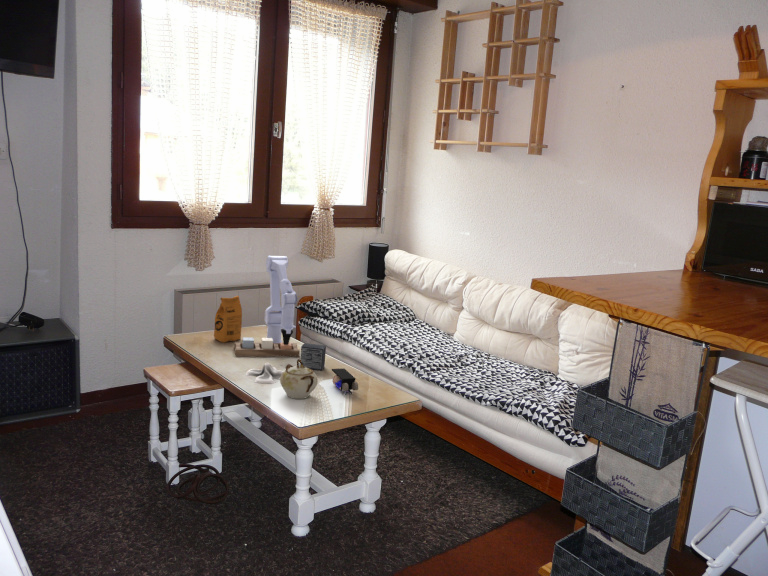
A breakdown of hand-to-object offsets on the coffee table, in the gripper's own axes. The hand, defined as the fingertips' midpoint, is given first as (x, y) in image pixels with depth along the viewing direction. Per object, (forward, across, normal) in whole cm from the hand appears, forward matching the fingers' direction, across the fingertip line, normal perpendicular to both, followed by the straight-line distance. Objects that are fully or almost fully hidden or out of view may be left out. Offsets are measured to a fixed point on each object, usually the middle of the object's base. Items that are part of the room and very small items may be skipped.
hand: (285, 344), depth 315 cm
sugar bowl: (+4, -57, +1) cm, 57 cm away
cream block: (+2, 0, +9) cm, 9 cm away
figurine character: (+5, -51, -19) cm, 55 cm away
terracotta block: (+4, 0, 0) cm, 4 cm away
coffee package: (+4, +21, +27) cm, 34 cm away
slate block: (+2, 0, +18) cm, 18 cm away
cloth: (+5, -33, +10) cm, 35 cm away
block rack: (+4, 0, +9) cm, 10 cm away
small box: (+4, -22, -10) cm, 25 cm away
